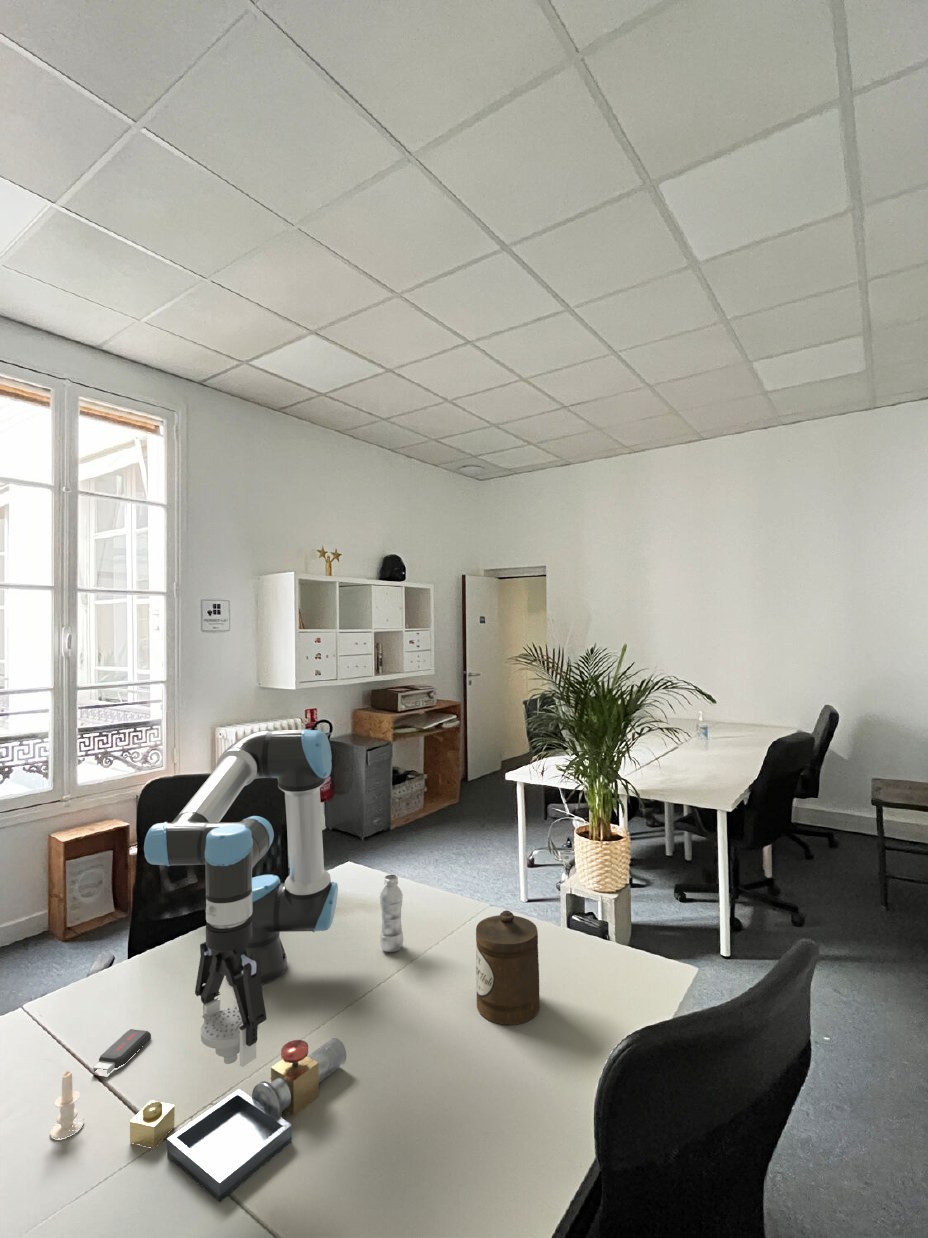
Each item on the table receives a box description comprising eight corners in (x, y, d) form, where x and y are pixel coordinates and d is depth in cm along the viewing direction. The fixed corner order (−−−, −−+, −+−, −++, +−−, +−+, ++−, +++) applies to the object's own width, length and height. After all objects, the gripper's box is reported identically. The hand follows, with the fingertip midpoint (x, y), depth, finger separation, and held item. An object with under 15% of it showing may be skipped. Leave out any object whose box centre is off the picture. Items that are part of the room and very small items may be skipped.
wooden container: (476, 987, 156) (476, 898, 157) (536, 988, 156) (535, 898, 156) (476, 1025, 141) (475, 927, 142) (542, 1026, 141) (541, 927, 141)
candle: (47, 1145, 110) (47, 1084, 110) (53, 1123, 114) (53, 1065, 115) (81, 1135, 112) (81, 1076, 112) (86, 1114, 117) (86, 1057, 117)
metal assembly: (167, 1160, 107) (167, 1100, 107) (313, 1054, 133) (312, 1006, 133) (219, 1206, 98) (219, 1141, 98) (364, 1084, 124) (364, 1032, 125)
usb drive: (151, 1041, 138) (151, 1028, 138) (111, 1080, 126) (111, 1066, 126) (129, 1038, 139) (129, 1026, 139) (88, 1077, 127) (88, 1063, 127)
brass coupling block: (130, 1144, 110) (129, 1116, 110) (151, 1122, 115) (151, 1096, 115) (154, 1150, 109) (154, 1122, 109) (174, 1128, 113) (174, 1101, 113)
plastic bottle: (407, 945, 177) (406, 874, 177) (397, 957, 171) (396, 883, 171) (386, 942, 179) (386, 871, 179) (375, 953, 173) (375, 880, 173)
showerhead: (218, 998, 114) (269, 1004, 112) (218, 1038, 114) (269, 1045, 112) (185, 1031, 105) (240, 1038, 103) (185, 1075, 105) (240, 1082, 103)
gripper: (173, 911, 112) (173, 1038, 112) (250, 946, 99) (251, 1090, 99) (211, 896, 118) (211, 1016, 118) (288, 927, 105) (289, 1063, 105)
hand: (229, 1050), depth 109 cm, fingers closed on showerhead, 9 cm apart
